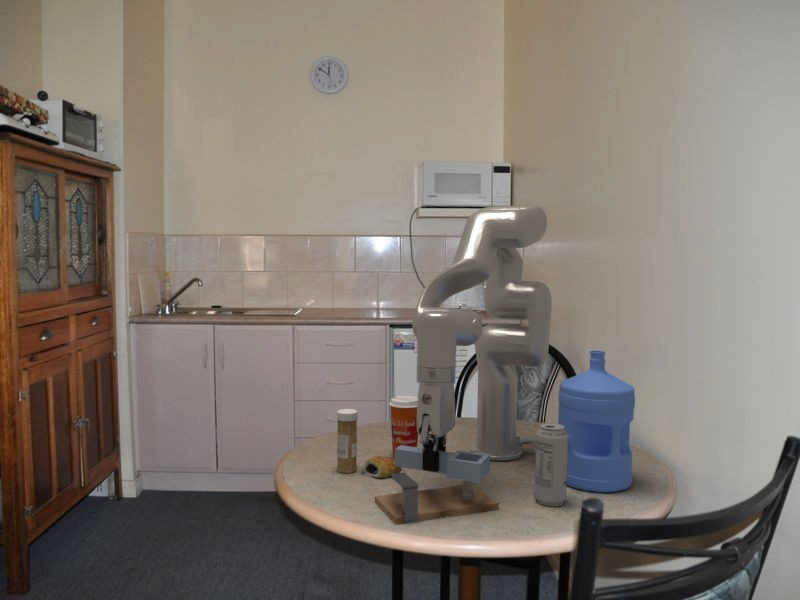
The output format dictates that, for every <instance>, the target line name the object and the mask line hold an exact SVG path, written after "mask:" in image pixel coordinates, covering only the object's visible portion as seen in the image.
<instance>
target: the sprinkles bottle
mask: <svg viewBox="0 0 800 600" xmlns="http://www.w3.org/2000/svg"><path fill="white" fill-rule="evenodd" d="M358 416H359V415H358V410H356V409H352V408H343V409H339V410H337V412H336V421H337V433H336V436H337V437H336V439H337V441H336V457H337V463H336V465H337V466H336V471H337V472H339V473H343V474H351V473H354V472H356V471H357V470H358V466H357V455H358V451H357V449H358V448H357V446H358V445H357V444H358V442H357V441H358V440H357V439H358V438H357V437H358V434H357V433H358V432H357V431H358V429H357V424H358V422H357V421H358Z"/></svg>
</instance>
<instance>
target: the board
mask: <svg viewBox="0 0 800 600" xmlns="http://www.w3.org/2000/svg"><path fill="white" fill-rule="evenodd" d="M374 503H375V505H376V506H377V507H378V508H379V509H380V510H381V511H382V512H383V513H384V514H385V515H386V516H387V517H388V518H389V519H390V520H391V522H392V523H394V524H395V525H400V524H406V523H405V516H404V515H403V514H402V492H398V493H397V492H396V493H389V494H383V495H374ZM496 510H500V502H499V501H497V500H496V499H494V498H493V497H491V496H489V495H488V494H487V493H485V492H484V491H483V490H481V489H479V488H478V487H476V486H475V485H474V482H471V481H465V480H462V484H460V485H459V484H458V485H453V486H444V487H436V488H429V489H422V490H421V489H419V490H418V521H417V522H420V521H427V520H426V519H429V520H434V518H436V519H441V518H440V517H442V518H447V517H446V516H449V517H454V516H453V515H456V516H461V515H460V514H463V515H467V514H468V513H469V514H476V513H482V511H483V512H487V511H488V512H489V511H496ZM475 512H476V513H475Z"/></svg>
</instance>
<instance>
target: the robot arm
mask: <svg viewBox="0 0 800 600" xmlns="http://www.w3.org/2000/svg"><path fill="white" fill-rule="evenodd" d="M547 227H548V218H547V214H546V212H545V210H544V209H543V208H542V207H541V206H540V205H537V204H536V205H535V204H533V205H530V204H529V205H528V204H527V205H496V206H495V205H494V206H493V205H492V206H486V207H483V208H481V209H479V210H477V211H476V212H473V213H472V214H470V215H469V217H468V218H467V220H466V223H465V225H464V227H463V231H462V234H461V237H460V240H459V243H458V246H457V250H456V252H455V255H454V259H453V261H452V263H451V264H449V266H447V267H445V268H444V269H443V270H442V271H440V272H439V273H437V275H435V277H434V278H433V279H432V280H430V281H429V282H428V283H427V285H426V286H425V287H424V288H423V290H422V292H421V294H420V296H419V298H418V302H417V304H416V307H415V310H414V313H413V318H412V332H413V335H414V337H415V338H416V339H417V346H416V347H417V349H416V383H418V384H419V386H418V396H417V398H418V404H417V432H418V436H419V435H420V436H419V443H421V445H422V447H421V448H422V450H423V466H422V468H423V470H426V471H425V472H428V471H433V472H432V473H434V472H437V471H439V451H446V450H447V449H446V448H447V446H446V445H447V434H448V433H449V432H450V431H452V430H453V429H454V428H455V427H456V426H455V425H456V399H455V398H456V397H455V384H456V363H457V362H456V360H457V346H458V347H468V346H472V345H474V351H475V354H476V363H477V403H476V405H477V406H476V407H477V410H476V413H477V414H476V443H473V444H472V445H471V446H470V448H469V452H473V453H481V454H488V455H490V461H496V462H497V461H498V462H501V461H502V462H504V461H514V460H518V459H520V458H521V457H522V456H523V450H522V448H521V447H523V445H533V444H534V438H533V436H532V435H529V436H527V435H526V436H523V435H522V434H521V435H519V434H517V419H518V418H517V413H518V412H517V411H518V409H517V408H518V381H517V378H516V376H515V373H514V372H513V370H512V369H511V367H510V366H515V367H527V368H528V367H529V368H538V367H542V366H544V364H545V362H547V359H548V356H549V355H548V354H549V346H550V333H551V323H552V322H551V320H552V319H551V318H552V306H553V305H552V304H553V303H552V301H553V300H552V293H551V290H550V288H549V287H548V285H547V284H545V283H544V282H542V281H537V280H536V281H535V280H523V271H524V270H523V269H524V268H523V267H524V260H523V258H522V257H523V256H521V254H520V252H519V251H518V249H522V248H524V249H525V248H528V247H529V246H532V245H534V244H535V243H538V242H540V240H541V239H543V238H544V236H545V233H546V232H547ZM485 282H486V283H485ZM484 283H485V294H484V307H485V313H486V314H487V316H488V317H491V318H493V319H499V320H513V321H526V322H527V323H528V325H527V326H525V325H514V324H513V325H512V324H499V323H498V324H497V323H494V324H486V325H483V321H482V318H481V316H480V314H478V313H477V312H476V311H474V310H471V309H466V308H453V307H441V305H442V304H443V303H444V302H445V301H447V299H449V298H450V297H452V296H454V295H457V294H458V293H462V292H465V291H467V290H470V289H472V288H475V287H477V286H479V285H481V284H484ZM430 432H431V433H430ZM437 450H438V451H437ZM446 452H447V451H446Z"/></svg>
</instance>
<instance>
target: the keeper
mask: <svg viewBox="0 0 800 600" xmlns="http://www.w3.org/2000/svg"><path fill="white" fill-rule="evenodd" d="M391 479H392V480H393V481H394V482H396V483H397V485H399V486H400V487H401V488H402V489H401V493H402V514H403V515H404V516H405V523H404V524H407V523H408V522H409V523H415V522H419V521H418V491H419V483H418V482H417V481H415V480H414V479H413V478H411V477H410V476H409V475H408V474H406V472H398V473H396V474H392V475H391Z"/></svg>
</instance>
